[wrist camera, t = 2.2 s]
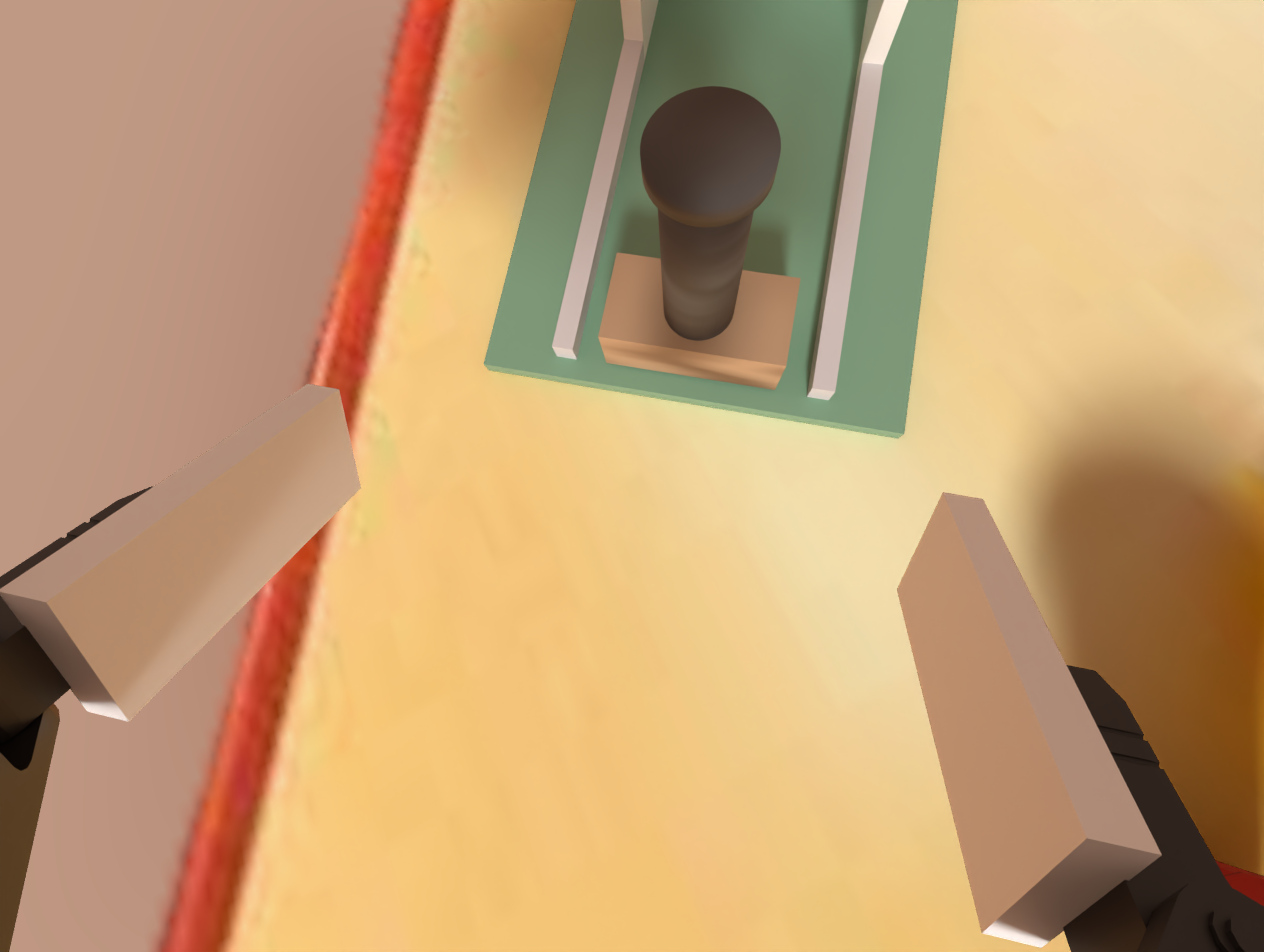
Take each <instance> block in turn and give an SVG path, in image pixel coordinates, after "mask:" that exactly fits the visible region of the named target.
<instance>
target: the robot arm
mask: <svg viewBox="0 0 1264 952" xmlns="http://www.w3.org/2000/svg"><path fill="white" fill-rule="evenodd" d="M360 488H361V486H360V482H359V477H358V473H357V468H356V464H355V459H354V455H353V450H352V446H351V441H350V437H349V432H348V428H347V423H346V419H345V414H344V410H343V405H342V401H341V396H340V392H339V389H335V388H329V387H323V386H317V385H311V384H307V385H305V386H304V387H302V388H301V389H299V390H298V391H296V392H295V393H293V394H292V395H290V396H289V397H287V398H286V399H284V400H283V401H281V402H280V403H278V404H277V405H275V406H274V407H272V408H271V409H269V410H268V411H266V412H265V413H263V414H262V415H260V416H259V417H257V418H256V419H254V420H253V421H251V422H250V423H248V424H247V425H245V426H244V427H242V428H241V429H239V430H238V431H236V432H235V433H233V434H232V435H230V436H229V437H227V438H226V439H224V440H223V441H221V442H220V443H218V444H217V445H215V446H214V447H212V448H211V449H210V450H208V451H206V452H205V453H203V454H202V455H200V456H199V457H198V458H196V459H194V460H193V461H191V462H190V463H188V464H187V465H185V466H184V467H182V468H181V469H179V470H178V471H176V472H175V473H174V474H172V475H170V476H169V477H167V478H166V479H165V480H163V481H161V482H160V483H158V484H157V485H155V486H154V487H149V488H147V489H144V490H142V491H139V492H137V493H134V494H132V495H130V496H127V497H125V498H122V499H120V500H118V501H116V502H115V503H113V504H111V505H110V506H108V507H107V508H105V509H104V510H102V511H101V512H99V513H98V514H96V515H95V516H93V517H91V518H90V522H89V523H86V522H84V523H82V524H81V525H79V526H78V527H76V528H75V529H73V530H72V531H70V532H68V533H67V537H66V538H59V539H58V540H56V541H55V542H53V543H52V544H50V545H49V546H47V547H45V548H44V549H42V550H41V551H39V552H38V553H36V554H35V555H33V556H32V557H30V558H29V559H27V560H25V561H24V562H22V563H21V564H19V565H18V566H16V567H15V568H13V569H12V570H10V571H9V572H7V573H6V574H4V575H2V576H1V577H0V952H9V949H10V945H11V940H12V936H13V931H14V927H15V922H16V918H17V913H18V909H19V904H20V899H21V895H22V890H23V886H24V881H25V877H26V872H27V868H28V863H29V859H30V854H31V849H32V845H33V840H34V836H35V831H36V827H37V822H38V817H39V813H40V808H41V803H42V799H43V794H44V790H45V785H46V781H47V777H48V771H49V767H50V763H51V758H52V754H53V749H54V745H55V739H56V735H57V731H58V726H59V722H60V718H59V710H58V709H57V707H56V706H55V705H54V702H55V701H56V700H57V699H59V698H60V697H61V696H62V695H63V694H64V693H66V692H67V691H68V690H69V689H71V690H72V692H73V693H74V694H75V696H76V697H77V698H78V700H79V701H80V703H81V704H82V705H83V707H84V708H85V709H86V710H87V711H88V712H92V713H96V714H100V715H104V716H108V717H112V718H116V719H120V720H124V721H128V722H129V721H130V720H131V719H132V718H133V717H134V716H135V715H136V714H137V713H138V712H139V711H140V710H141V709H142V708H143V707H144V706H145V705H146V704H147V703H148V702H149V701H150V700H151V699H152V698H153V697H154V696H155V695H156V694H157V693H158V692H159V691H160V690H161V689H162V688H163V687H164V686H165V685H166V684H167V683H168V682H169V681H170V680H171V679H172V678H173V677H174V676H175V675H176V673H178V672H179V671H180V670H181V669H182V668H183V667H184V666H185V665H186V664H187V663H188V662H189V661H190V660H191V659H192V658H193V657H194V655H196V654H197V653H198V652H199V651H200V650H201V649H202V648H203V647H204V646H205V645H206V644H207V643H208V642H209V640H210V639H211V638H212V637H213V636H214V635H215V634H216V633H217V632H218V631H219V630H220V629H221V628H222V627H223V626H224V625H225V624H226V623H227V622H228V621H229V620H230V619H231V618H232V617H233V616H234V615H235V614H236V613H237V612H238V611H239V610H240V609H241V608H242V607H243V606H244V605H245V604H246V603H247V602H248V601H249V600H250V599H251V598H252V597H253V596H254V595H255V594H256V593H257V592H258V591H259V590H260V589H261V588H262V587H263V586H264V585H265V584H266V583H267V582H268V581H269V580H270V579H271V578H272V577H273V576H274V575H275V574H276V573H277V572H278V571H279V570H280V569H281V568H282V567H283V566H284V565H285V564H286V563H287V562H288V561H289V560H290V559H291V558H292V557H293V556H294V555H295V554H296V553H297V552H298V551H299V550H300V549H301V548H302V547H303V546H304V545H305V544H306V543H307V542H308V541H309V540H310V539H311V538H312V537H313V536H314V535H315V534H316V533H317V532H318V531H319V530H320V529H321V528H322V527H323V526H324V525H325V524H326V523H327V522H328V521H329V520H330V519H331V518H332V517H333V516H334V515H335V514H336V513H337V512H338V511H339V509H340V508H341V507H342V506H343V505H344V504H345V503H346V502H347V501H348V500H349V499H350V498H351V497H352V496H353V495H354V494H355V493H356V492H357V491H358V490H359V489H360ZM897 592H898V596H899V600H900V604H901V608H902V612H903V616H904V620H905V624H906V628H907V632H908V636H909V640H910V644H911V648H912V652H913V656H914V660H915V665H916V669H917V673H918V677H919V681H920V685H921V689H922V693H923V697H924V701H925V705H926V709H927V713H928V717H929V721H930V725H931V729H932V733H933V737H934V741H935V745H936V749H937V753H938V758H939V762H940V766H941V770H942V774H943V778H944V782H945V786H946V790H947V794H948V798H949V802H950V806H951V810H952V814H953V818H954V822H955V826H956V830H957V834H958V838H959V842H960V846H961V850H962V855H963V859H964V863H965V867H966V871H967V875H968V879H969V883H970V887H971V891H972V895H973V899H974V903H975V907H976V911H977V915H978V919H979V923H980V927H981V931H982V933H984V934H988V935H992V936H996V937H1000V938H1004V939H1008V940H1012V941H1016V942H1020V943H1024V944H1028V945H1032V946H1036V947H1040V948H1042V947H1043V946H1044V945H1046V944H1047V943H1048V942H1049V941H1051V940H1052V939H1053V938H1055V937H1056V936H1057V935H1059V934H1060V933H1061V932H1062V931H1064V932H1065V935H1066V938H1067V941H1068V944H1069V947H1070V950H1071V952H1264V906H1262V905H1261V904H1259V903H1257V902H1256V901H1254V900H1252V899H1251V898H1249V897H1247V896H1246V895H1244V894H1242V893H1241V892H1239V891H1237V890H1236V889H1233V888H1232V887H1231V886H1230V884H1229V883H1228V881H1227V880H1226V878H1225V877H1224V875H1223V873H1222V872H1221V870H1220V868H1219V866H1218V865H1217V863H1216V861H1215V859H1214V857H1213V856H1212V854H1211V852H1210V850H1209V849H1208V847H1207V845H1206V843H1205V842H1204V840H1203V838H1202V836H1201V835H1200V833H1199V831H1198V829H1197V828H1196V826H1195V824H1194V822H1193V820H1192V819H1191V817H1190V815H1189V813H1188V812H1187V810H1186V808H1185V806H1184V805H1183V803H1182V801H1181V799H1180V798H1179V796H1178V794H1177V792H1176V791H1175V789H1174V787H1173V785H1172V783H1171V782H1170V780H1169V778H1168V776H1167V775H1166V773H1165V771H1164V769H1160V768H1159V761H1158V759H1157V757H1156V755H1155V754H1154V752H1153V750H1152V748H1151V746H1150V745H1149V743H1148V741H1144V740H1143V735H1144V734H1143V732H1142V731H1141V729H1140V727H1139V725H1138V724H1137V722H1136V720H1135V718H1134V717H1133V715H1132V713H1131V711H1130V709H1129V708H1128V706H1127V704H1126V702H1125V701H1124V700H1123V699H1122V698H1121V697H1120V696H1119V695H1118V694H1117V693H1116V692H1115V691H1114V690H1113V689H1112V688H1111V687H1110V686H1109V685H1108V684H1107V683H1106V681H1105V680H1104V679H1103V678H1102V677H1101V676H1100V675H1099V674H1098V673H1097V672H1096V671H1093V670H1088V669H1083V668H1078V667H1073V666H1068V665H1066V663H1065V661H1064V659H1063V657H1062V655H1061V653H1060V651H1059V649H1058V647H1057V645H1056V643H1055V641H1054V640H1053V638H1052V636H1051V634H1050V632H1049V630H1048V628H1047V626H1046V624H1045V622H1044V620H1043V618H1042V616H1041V614H1040V612H1039V610H1038V608H1037V606H1036V604H1035V602H1034V600H1033V598H1032V596H1031V594H1030V592H1029V590H1028V588H1027V586H1026V584H1025V582H1024V580H1023V578H1022V576H1021V574H1020V572H1019V570H1018V568H1017V566H1016V564H1015V562H1014V560H1013V558H1012V556H1011V554H1010V552H1009V550H1008V548H1007V546H1006V544H1005V542H1004V540H1003V538H1002V536H1001V534H1000V532H999V530H998V528H997V526H996V524H995V522H994V520H993V518H992V516H991V514H990V512H989V510H988V508H987V506H986V504H985V502H984V500H983V499H979V498H973V497H968V496H962V495H956V494H950V493H944V492H943V493H942V496H941V498H940V500H939V502H938V504H937V506H936V508H935V510H934V512H933V515H932V517H931V519H930V521H929V523H928V525H927V527H926V529H925V531H924V534H923V536H922V538H921V540H920V542H919V544H918V546H917V548H916V550H915V553H914V555H913V557H912V559H911V561H910V563H909V565H908V567H907V569H906V572H905V574H904V576H903V578H902V580H901V582H900V584H899V586H898V588H897Z"/></svg>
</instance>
